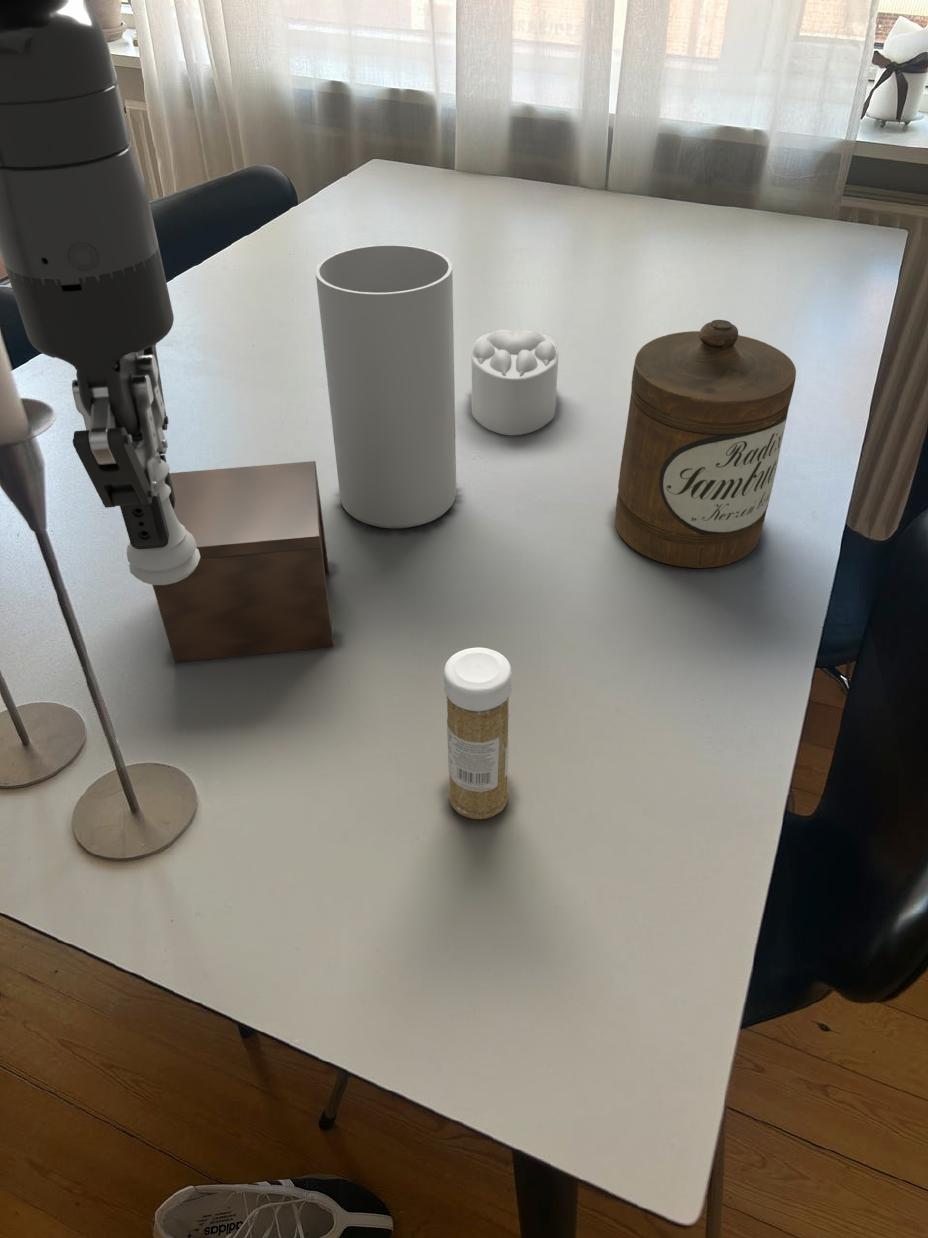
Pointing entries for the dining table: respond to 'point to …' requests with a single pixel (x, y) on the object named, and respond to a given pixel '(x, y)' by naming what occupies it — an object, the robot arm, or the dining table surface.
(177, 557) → the rook chess piece
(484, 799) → the sprinkles bottle
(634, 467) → the wooden container
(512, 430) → the lumpy-topped squat cylinder
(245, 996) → the dining table surface
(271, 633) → the wooden lidded box
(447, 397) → the cylinder vase
